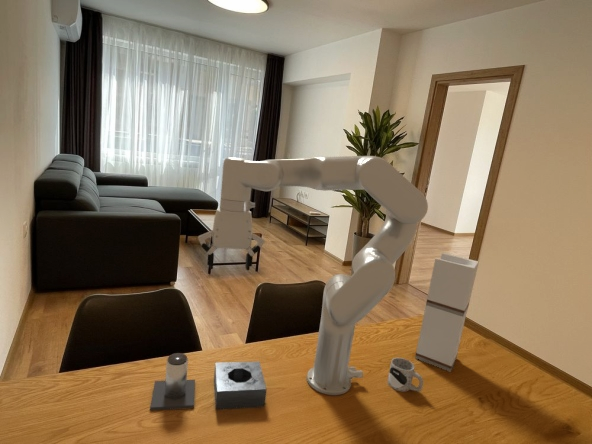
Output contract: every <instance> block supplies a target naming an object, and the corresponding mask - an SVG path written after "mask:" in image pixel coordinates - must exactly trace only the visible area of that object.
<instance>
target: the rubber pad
mask: <svg viewBox="0 0 592 444" xmlns="http://www.w3.org/2000/svg"><path fill="white" fill-rule="evenodd" d="M152 389H153V390H152V397H151V402H150V405H149V411H164V410H181V409H184V410H185V409H195V401H196V400H195V397H196V396H195V395H196V394H195V393H196V391H195V390H196V379H187V381H186V393H185V395H184V396H183V397H182V398H179V399H169V398H167V397H166V396H165V380H155V381H154V385H153V388H152Z"/></svg>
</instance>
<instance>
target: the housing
mask: <svg viewBox="0 0 592 444" xmlns="http://www.w3.org/2000/svg"><path fill="white" fill-rule="evenodd" d="M213 374H214V375H213V386H214V388H213V389H214V406H215V409H214V410H217V411H218V410H234V409H235V410H236V409H248V408H249V409H251V408H252V409H253V408H255V409H256V408H265V406H266V398H267V397H266V396H267V389H268V388H267V385H266V382H265V377H264V374H263V370H262V366H261V363H260V361H232V362H231V361H229V362H226V361H225V362H223V361H221V362H215V363H214V373H213Z"/></svg>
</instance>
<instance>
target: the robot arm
mask: <svg viewBox="0 0 592 444" xmlns="http://www.w3.org/2000/svg"><path fill="white" fill-rule="evenodd" d="M222 164H223V165H222V175H221V176H222V177H221V190H220V191H221V192H220V202H219V207H218V208H217V209H216V212H215V215H214V219H213V225H212V226H213V227H212V230H209V231H207V232H204V233H203V234H200V235H198V238H197V239H198V242H199V243H200V246H201V248H202V249H203V250H204V251H205V252H206V253H207V262H206V263H207V266H209V269H210V270H213V269H214V259H215V257H214V256H215V255H214V253H215V251H216V250H217V249H229V250H245V251H246V252H247V253H246V256H245V265H244V266H245V270H246V271H250V268H251V267H252V266H253V259H254V258H253V257H254V256H255V255H256V254H257V253H258V252H259V251H260V250H261V248H262V247H263V245H264V244H265V239H264V238H262V237H261V236H258V235H257V234H255V233H253V219H252V211H250V209H252V208H254V209H255V207H256V202H252V201H251V195H252V194H251V193H252V192H251V191H252V189H253V190H257V191H263V192H271V191H274V190H276V188H280V187H283V188H286V187H300V188H301V187H303V188H309V189H312V190H316V191H350V190H351V191H353V190H354V191H356V190H357V191H358V190H362V191H363V190H364V191H365V192H366V193H368V195H369V196H370V197H371V198H373V200H374V201H375V202H377V203H378V205H380V206H381V207H382V208H383V209H385V212H386V213H385V214H386V215H385V220H384V222H383V224H382V226H381V227H380V228H379V230H378V231H377V232H376V233H375V235H373V237H372V238H371V239H370V240H368V242H367V243H366V244H365V245H364V246H363V247H362V248H361V249H360V250H359V251H358V252H357V253H356V254H355V256H354V257H353V259H352V264H351V265H352V266H351V267H352V271H353V273H352V275H351V276H350V275H349V274H345V273H338V274H335V275H333V276H331V277H330V278H329V279H328V280H327V282H326V283H325V286H324V288H323V295H322V305H321V307H322V308H321V315H320V316H321V317H320V323H319V330H318V334H317V335H318V337H317V342H316V343H317V344H316V350H315V356H314V362H313V367H311V368H310V369H309V370H308V371H307V374H306V381H307V383H308V385H309V386H310V387H311V388H313V389H314V390H315V391H316V392H319V393H321V394H325V395H328V396H339V395H344V394H345V393H348V391H350V389H351V386H352V379H353V378H363V377H364V372H363V370H361V369H360V370H356V367H355V366H349V363H350V357H351V351H352V346H353V341H354V340H353V339H354V335H355V329H356V324H357V323H358V322H361V320H363V319H364V318H365V316H367V315H368V314H369V313H370V312H371V311H372V310H373V309H374V308H375V307H376V306H377V305H378V303H380V302H381V301H382V300H383V299H384V297H385V296H386V295H387V294H388V293H390V291H391V289H392V288H393V286H394V283H395V280H396V269H395V267H394V264H395V263H396V262H397V261H398V259H399V258H400V257H401V256H402V255H403V253H405V251H406V250H407V249H408V248H409V247H410V245H411V243H412V242H413V240H414V237H415V235H416V233H417V226H418V223H419V222H421V221H422V220H423V219H424V218H425V217H426V215H427V213H428V208H429V203H428V200H427V197H426V196H425V195H424V193H422V191H421V190H419V189H418V187H416V186H415V184H413V183H412V182H410V180H408V179H407V178H406V177H405V176H404V175H403V174H402V173H400V172H399V171H398V170H397V168H396V167H394V166H393V165H392V164H391V163H390V162H389V161H388V160H386V159H384V158H383V157H381V156H375V155H352V156H351V155H350V156H345V155H344V156H318V157H317V156H316V157H310V158H290V159H289V158H288V159H281V158H280V159H279V158H278V159H265V160H260V161H258V160H257V161H256V160H251V159H249V158H245V157H236V156H235V157H234V156H229V157H226V158H225V159H224V160H223V163H222ZM210 238H211V242H212V243H211V244H210V245H209V244H208V243H206V240H208V239H210ZM252 239H253V240H254V241H256V242H257V243H256V244H255V245H254V246H253V247H252V241H253V240H252Z"/></svg>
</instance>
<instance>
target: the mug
mask: <svg viewBox="0 0 592 444" xmlns="http://www.w3.org/2000/svg"><path fill="white" fill-rule="evenodd" d="M389 367H390V368H389V371H388V377H387V385H388V386H389V387H390V388H392V389H393V390H395V391H396V392H397V391H398V392H403V393H405V392H406V393H407V392H409V391H415V392H419V393H420V392H421V391H422V390H423V386H424V378H423V377H422V376H421V375H420V374H419V373H418V372H417V371H415V368H416V366H415V364H414V363H413V362H412V361H410V360H409V359H406V358H404V357H394V358H392V359H391V362H390V366H389ZM413 378H416V379H418V381H419V385H418V386H415V385H414V384H413Z"/></svg>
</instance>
